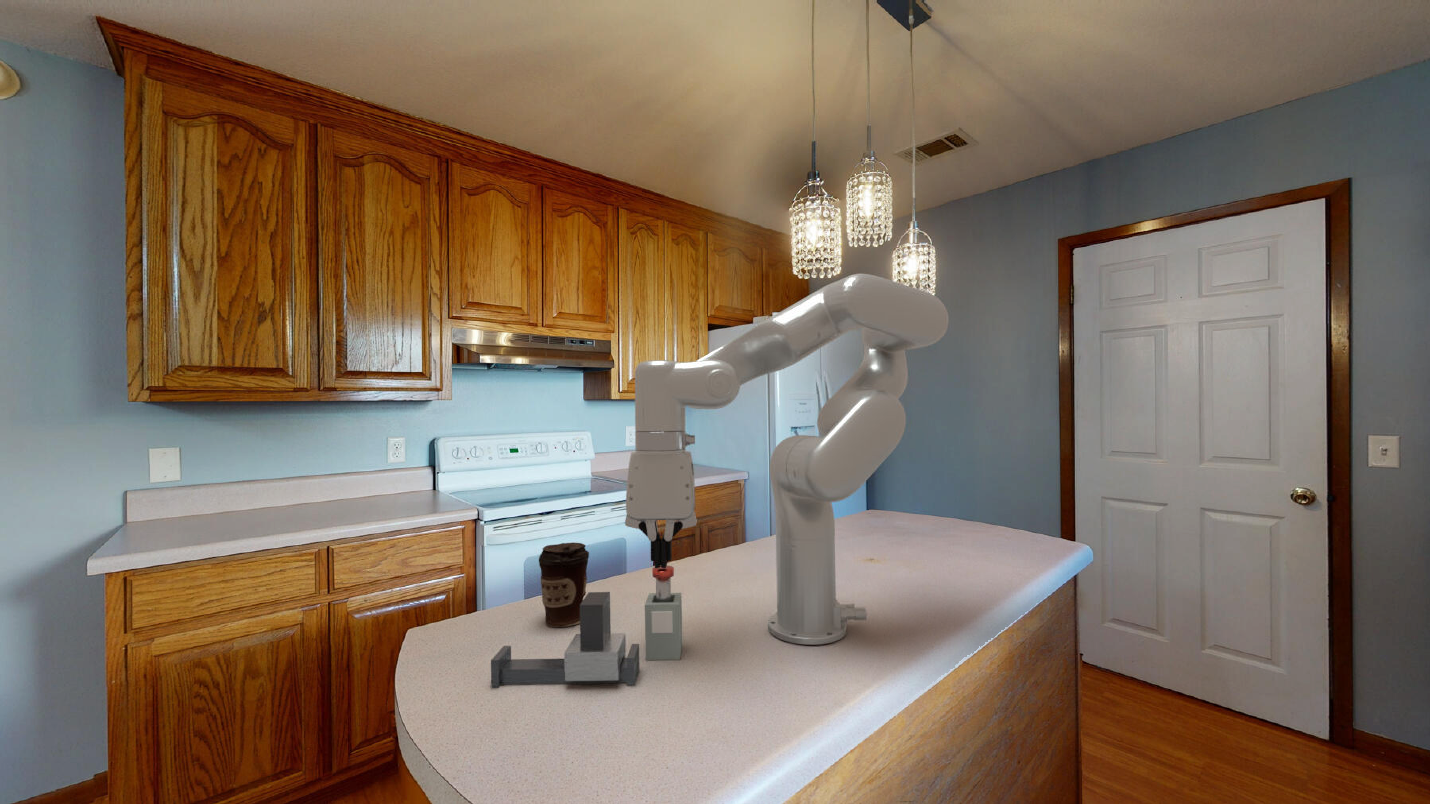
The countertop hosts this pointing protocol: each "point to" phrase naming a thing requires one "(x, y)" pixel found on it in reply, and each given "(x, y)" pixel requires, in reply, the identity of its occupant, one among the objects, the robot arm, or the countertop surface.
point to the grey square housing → (663, 628)
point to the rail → (551, 670)
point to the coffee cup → (563, 582)
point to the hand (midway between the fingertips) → (661, 565)
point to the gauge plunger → (663, 583)
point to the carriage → (595, 643)
